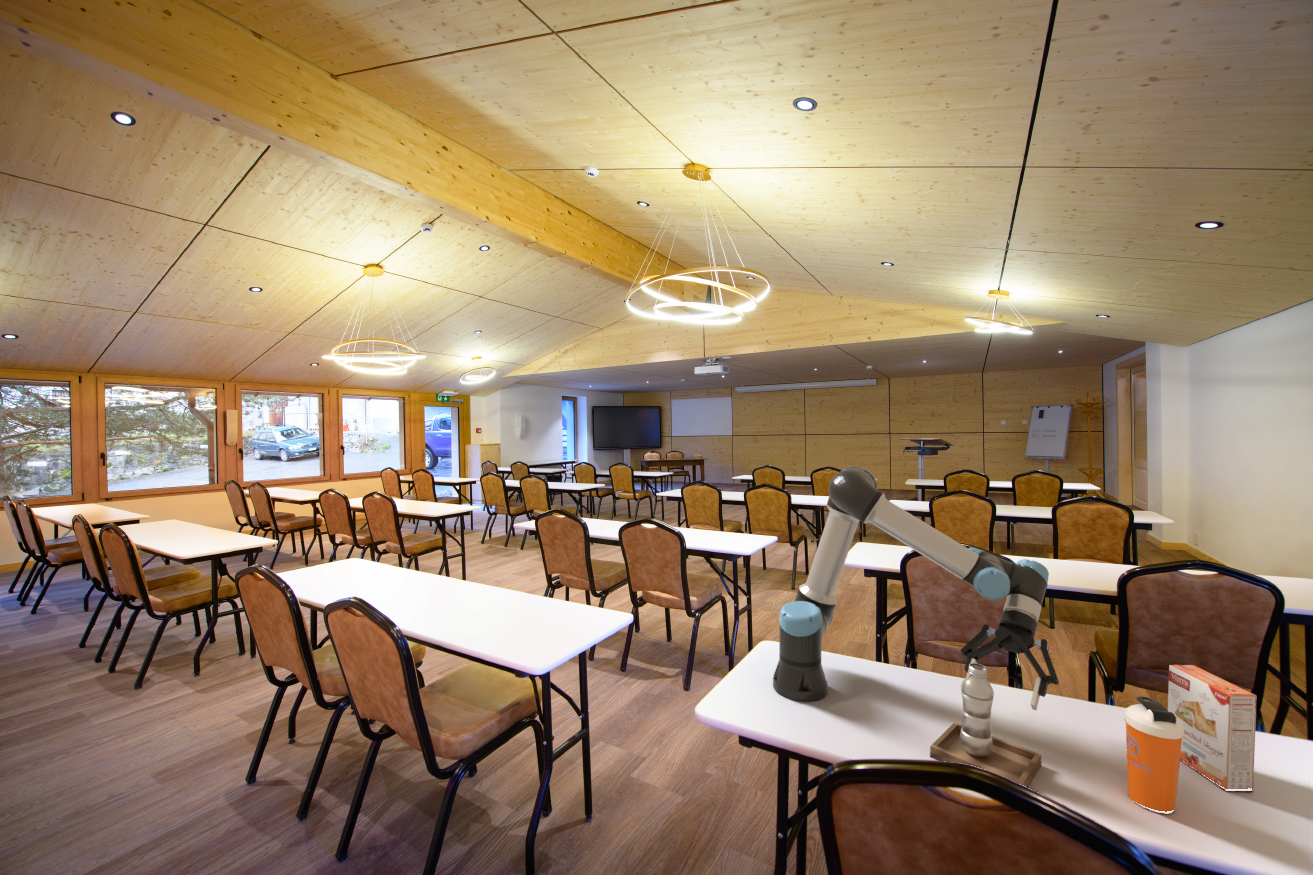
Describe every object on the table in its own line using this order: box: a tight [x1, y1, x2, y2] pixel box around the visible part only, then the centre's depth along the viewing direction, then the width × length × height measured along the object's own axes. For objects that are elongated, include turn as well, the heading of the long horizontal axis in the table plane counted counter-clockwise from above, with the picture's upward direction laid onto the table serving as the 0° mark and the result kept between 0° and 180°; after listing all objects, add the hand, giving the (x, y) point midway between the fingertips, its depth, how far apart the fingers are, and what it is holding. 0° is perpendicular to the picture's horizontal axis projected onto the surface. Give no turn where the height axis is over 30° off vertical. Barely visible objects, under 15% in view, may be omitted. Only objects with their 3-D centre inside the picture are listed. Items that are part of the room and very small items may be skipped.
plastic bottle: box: [960, 662, 995, 757], centre depth 125 cm, size 6×7×20 cm
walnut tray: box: [929, 721, 1042, 788], centre depth 124 cm, size 18×15×2 cm
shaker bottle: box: [1123, 695, 1184, 812], centre depth 110 cm, size 9×9×20 cm
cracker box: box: [1167, 664, 1257, 790], centre depth 120 cm, size 14×6×21 cm, turn 178°
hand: (999, 696), depth 129 cm, fingers open, 13 cm apart
